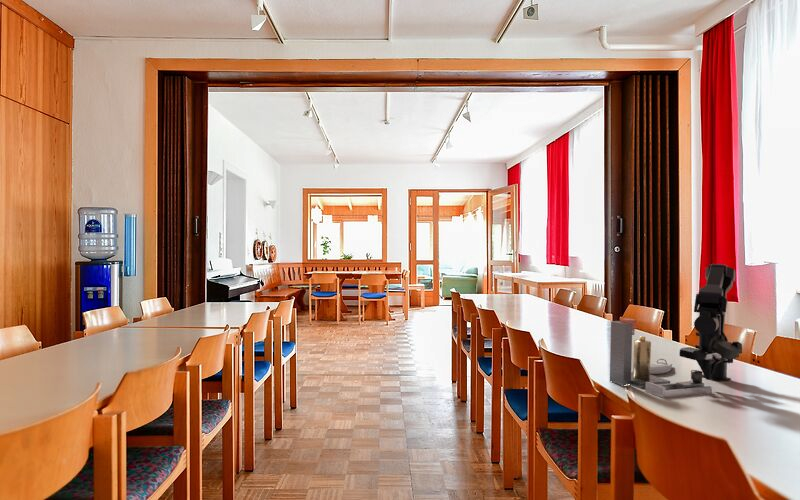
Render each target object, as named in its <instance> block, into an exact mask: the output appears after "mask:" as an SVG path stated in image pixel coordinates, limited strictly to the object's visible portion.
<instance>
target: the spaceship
mask: <svg viewBox="0 0 800 500" xmlns="http://www.w3.org/2000/svg"><path fill="white" fill-rule="evenodd" d="M659 361H660V362H659ZM663 361H664V362H663ZM672 368H673V363H668V362H667V359H664V358H659V359H657V361H656V362H654V363H650V375H659V374H660V375H661V374H666V373H668V372H669V371H672Z"/></svg>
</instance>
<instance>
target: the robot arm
mask: <svg viewBox="0 0 800 500" xmlns="http://www.w3.org/2000/svg"><path fill="white" fill-rule="evenodd" d="M705 279H706V284H705V285H704V286H702V287H700V289H699V290H698V293H696V294H695V300H694V308H693V312H694V313H699V315H698V316H697V317H696V318H695V320H694V322H693V326H694V329H695V330H696V332H695V336H696V337H698V344H695V346H694V347H695V348H694V347H691V346H690V347H689V346H688V347H681V348H680V349H679V353H678V354H679V357H682V358H686V359H689V360H693V361H696V362H697V364H698V366H699V368H700V371H702V378H705V379H706V380H707V381H710V380H713V381H716V382H720V381H721V382H722V381H731V380H732V378H731V377H727V376H728V375H727V369H728V364H734V360H736V359H737V358H739V357H740V355H741V354H742V353H743V351H742V350H743V344H742V343H741V342H740V341H733V342H731V341H729V339H728V338H727V337H728V336H726V334H725V326H726V325H725V323H726V313H727V308H728V299H727V293H729V291H730V290H731V289H732V288H733V286H734V285H733V283H734V282H736V270H735V268H733V267H729V266H728V265H726V264H723V263H721V264H720V263H711V264H709V265H708V266H707V267H705Z"/></svg>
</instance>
